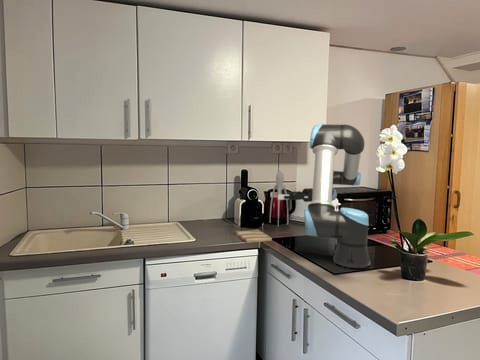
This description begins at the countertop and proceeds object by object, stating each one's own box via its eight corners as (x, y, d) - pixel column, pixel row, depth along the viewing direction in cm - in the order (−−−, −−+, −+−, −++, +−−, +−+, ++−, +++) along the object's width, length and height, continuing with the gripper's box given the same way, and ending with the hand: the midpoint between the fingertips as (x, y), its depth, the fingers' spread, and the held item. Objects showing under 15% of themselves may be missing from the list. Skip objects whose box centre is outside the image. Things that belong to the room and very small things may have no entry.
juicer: (292, 226, 190) (294, 171, 187) (277, 227, 187) (279, 171, 184) (283, 222, 200) (285, 170, 197) (269, 223, 196) (270, 170, 194)
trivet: (271, 240, 182) (271, 238, 182) (246, 242, 177) (246, 239, 177) (258, 232, 199) (258, 229, 199) (235, 233, 194) (235, 231, 194)
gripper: (320, 204, 188) (282, 206, 180) (301, 198, 208) (266, 199, 200) (321, 190, 187) (283, 191, 180) (301, 186, 207) (266, 186, 200)
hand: (274, 195), depth 190 cm, fingers closed on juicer, 8 cm apart
